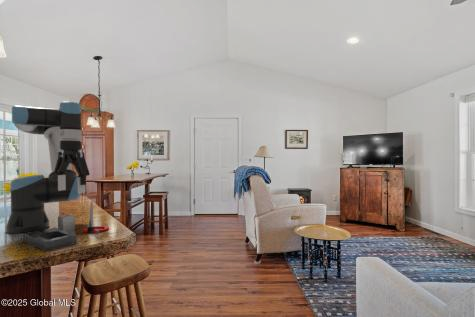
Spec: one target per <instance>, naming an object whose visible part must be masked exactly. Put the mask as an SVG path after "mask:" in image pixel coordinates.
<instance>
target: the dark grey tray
mask: <svg viewBox="0 0 475 317" xmlns="http://www.w3.org/2000/svg"><path fill="white" fill-rule="evenodd" d="M77 235H78V234H76V233H70V232H67V231H64V230H60V229H58V227H51V228H45V229H41V230H37V231H31V232H25V233H24V242H25V243H27V244H29V245H31V246H32V247H36V248H38V249H40V250H42V251H45V252H46V251H50V250H55V249H58V248H62V247H65V246H70V245H74V244H77Z"/></svg>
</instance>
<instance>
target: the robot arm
mask: <svg viewBox="0 0 475 317" xmlns="http://www.w3.org/2000/svg"><path fill="white" fill-rule="evenodd" d="M11 122H12V124H13V125H14V126H15V128H16V129H18V130H19V131H22V132H24V133H27V134H31V135H41V136H42V135H43V136H44V138H45V139H46V140H47V143H48V144H47V145H48V152H49V161H50V169H51V172H50V173H49V174H48V176H47V177H45V176H44V174H33V175H29V176H27V175H26V176H22V177H21V176H20V177H17V178H14V179H12V180H11V181H10V189H9V192H10V214H9V217H8V220H7V223H6V224H5V225H6V226H5V232H6V233H7V234H21V233H22V234H25V233H31V232H36V231H41V230H45V229H48V228H49V227H50V219H49V218H48V215H47V212H46V210H45V204H51V203H60V202H71V201H76V200H78V199H79V198H80V196H81V194H86V184H87V183H86V180H87V178H86V177H88V176H90V171H89V168H88V164H87V161H86V157H85V152H84V151H83V152H81V151H80V150H82V141H81V140H82V138H83V137H82V105H81V104H80V103H78V102H74V101H60V102H59V108H50V107H49V108H48V107H39V106H38V107H37V106H28V105H27V106H26V105H13V106H12V107H11ZM72 165H73V166H72ZM73 167H74V169H75V170H73Z"/></svg>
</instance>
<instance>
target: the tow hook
mask: <svg viewBox="0 0 475 317" xmlns="http://www.w3.org/2000/svg"><path fill="white" fill-rule="evenodd" d="M93 204H94V202H93V201H91V202H90V207H89V222H88V227H87V228H84V229H83V230H82V233H83V234H84V233H85V234H100V232H101V233H102V232H106V231H109V228H110V227H109V226H108V225H107V226H106V225H96V226H94V205H93ZM103 228H104V229H103Z"/></svg>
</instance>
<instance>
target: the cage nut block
mask: <svg viewBox="0 0 475 317" xmlns="http://www.w3.org/2000/svg"><path fill="white" fill-rule="evenodd" d="M75 216H76V215H73V214H66V215H59V216H57V229H60V230H64V231H67V232H70V233H73V234H76V219H75V218H76V217H75Z"/></svg>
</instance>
